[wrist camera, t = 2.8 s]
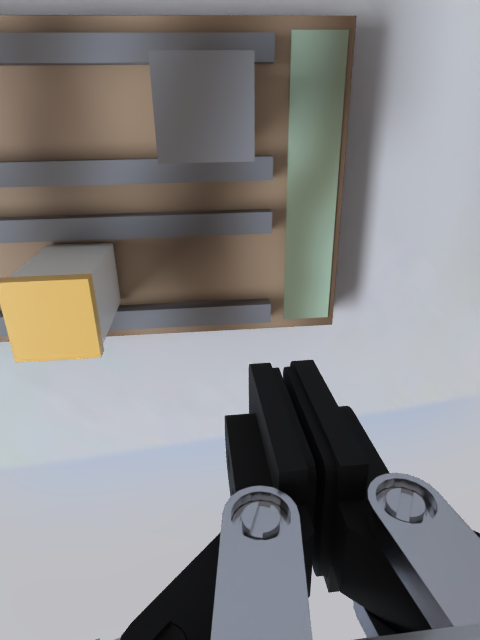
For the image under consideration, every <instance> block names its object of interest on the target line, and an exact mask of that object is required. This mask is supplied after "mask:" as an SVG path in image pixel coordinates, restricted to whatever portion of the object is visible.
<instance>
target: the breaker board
mask: <svg viewBox="0 0 480 640" xmlns="http://www.w3.org/2000/svg"><path fill="white" fill-rule="evenodd" d="M355 28H356V16H191V15H0V278H1V277H9V276H10V275H12V274H13V273H14V272H15V271H16V270H18V269H19V268H20V267H21V266H22V265H24V264H25V263H26V262H27V261H28V260H30V259H31V258H32V257H33V256H34V255H36V254H37V253H38V252H39V251H41V250H42V249H43V248H44V247H45V246H47V245H57V244H84V243H111V242H113V248H114V256H115V263H116V270H117V278H118V285H119V292H120V299H121V302H120V304H119V307H118V309H117V311H116V314H115V316H114V319H113V321H112V323H111V326H110V328H109V331H108V333H107V335H106V336H124V335H143V334H162V333H181V332H199V331H218V330H237V329H256V328H275V327H294V326H313V325H332V318H333V305H334V293H335V280H336V268H337V255H338V242H339V230H340V217H341V204H342V192H343V179H344V167H345V154H346V141H347V129H348V116H349V104H350V91H351V78H352V66H353V53H354V41H355ZM0 342H10V340H9V336H8V332H7V329H6V325H5V321H4V317H3V313H2V309H1V306H0Z"/></svg>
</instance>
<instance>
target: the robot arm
mask: <svg viewBox="0 0 480 640" xmlns="http://www.w3.org/2000/svg"><path fill="white" fill-rule="evenodd" d="M225 441H226V458H227V469H228V478H229V487H230V495H231V497H230V499H229V500H228V501H227V503H226V504H225V507H224V510H223V514H222V525H221V533H220V534H219V535H218V536H217V537H216V538H215V539H214V540H213V541H212V542H211V543H210V544H209V545H208V546H207V547H206V548H205V549H204V550H203V551H202V552H201V553H200V554H199V555H198V556H197V557H196V558H195V559H194V560H193V561H192V562H191V563H190V564H189V565H188V566H187V567H186V568H185V569H184V570H183V571H182V572H181V573H180V574H179V575H178V576H177V577H176V578H175V579H174V580H173V581H172V582H171V583H170V584H169V585H168V586H167V587H166V588H165V589H164V590H163V591H162V593H160V594H159V595H158V596H157V597H156V598H155V599H154V600H153V601H152V602H151V603H150V605H148V607H147V608H146V609H145V610H144V611H143V612H142V613H141V614H140V615H139V616H138V617H137V618H136V619H135V620H134V621H133V622H132V623H131V624H130V625H129V627H128V628H127V629H126V631H125V632H124V633H123V635H122V636H121V638H118V639H115V640H312V631H311V621H310V611H309V602H308V598H309V596H310V587H311V573H312V566H313V569H314V572H315V575H316V576H324V579H325V582H326V585H327V588H328V592H336V591H340V592H341V593H343V594H344V595H346V596H347V597H349V598H350V599H352V600H353V601H354V610H355V613H356V616H357V618H358V620H359V622H360V624H361V626H362V628H363V630H364V632H365V634H366V636H367V638H363V639H356V640H480V533H478V532H475V531H473V530H472V529H471V528H470V527H469V526H468V525H467V524H466V523H465V521H464V520H463V519H462V518H461V517H460V516H459V515H458V514H457V513H456V511H455V510H454V509H453V508H452V507H451V506H450V505H449V504H448V503H447V501H446V500H445V499H444V498H443V497H442V496H441V495H440V494H439V492H438V491H436V490H435V489H434V488H433V487H432V486H431V485H430V484H428V483H426V482H424V481H423V480H421V479H419V478H417V477H414V476H411V475H408V474H401V473H389V471H388V470H387V468H386V466H385V465H384V463H383V461H382V459H381V458H380V456H379V454H378V453H377V451H376V449H375V447H374V446H373V444H372V442H371V441H370V439H369V438H368V436H367V434H366V432H365V430H364V429H363V427H362V425H361V424H360V422H359V420H358V419H357V417H356V415H355V413H354V412H353V410H352V409H351V408H350V407H349V406H341V407H338V405H337V403H336V401H335V400H334V398H333V396H332V394H331V392H330V390H329V389H328V387H327V385H326V383H325V381H324V379H323V377H322V376H321V374H320V372H319V370H318V368H317V366H316V365H315V363H314V361H313V360H303V361H292V362H291V364H290V367H284V370H283V377H282V375H281V372H280V370H279V368H272V366H271V363H259V364H249V414H240V415H227V416H225ZM96 640H100V639H96Z"/></svg>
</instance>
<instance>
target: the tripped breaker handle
mask: <svg viewBox="0 0 480 640" xmlns="http://www.w3.org/2000/svg"><path fill="white" fill-rule="evenodd" d="M120 302H121V299H120V292H119V285H118V278H117V270H116V263H115V256H114V248H113V242H111V243H84V244H57V245H47V246H45V247H44V248H43V249H42V250H41V251H39V252H38V253H37V254H36V255H34V256H33V257H32V258H31V259H30V260H28V261H27V262H26V263H25V264H24V265H22V266H21V267H20V268H19V269H18V270H16V271H15V272H14V273H13V274H12V275H10V276H9V277H1V278H0V306H1V309H2V313H3V317H4V321H5V325H6V329H7V332H8V336H9V340H10V344H11V348H12V352H13V355H14V359H15V362H32V361H50V360H67V359H85V358H101V357H102V354H103V352H104V347H103V342H104V340H105V338H106V335H107V333H108V331H109V328H110V326H111V323H112V321H113V319H114V316H115V314H116V311H117V309H118V307H119V304H120Z"/></svg>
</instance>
